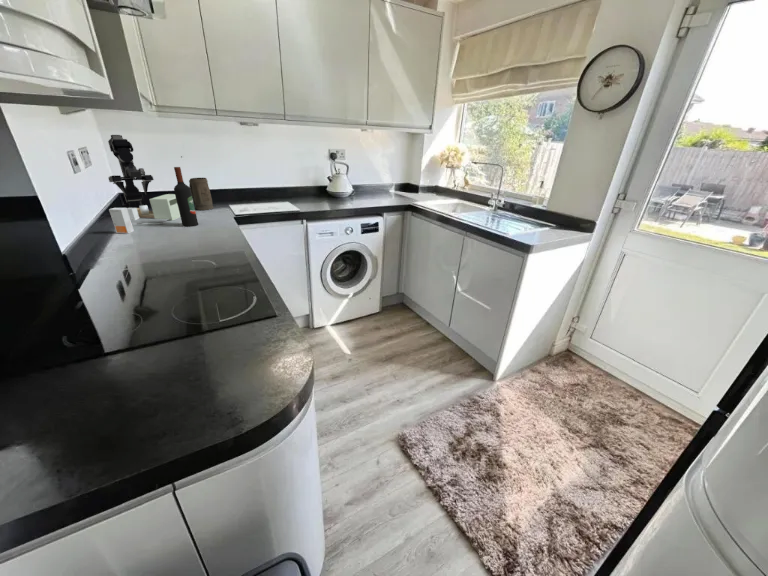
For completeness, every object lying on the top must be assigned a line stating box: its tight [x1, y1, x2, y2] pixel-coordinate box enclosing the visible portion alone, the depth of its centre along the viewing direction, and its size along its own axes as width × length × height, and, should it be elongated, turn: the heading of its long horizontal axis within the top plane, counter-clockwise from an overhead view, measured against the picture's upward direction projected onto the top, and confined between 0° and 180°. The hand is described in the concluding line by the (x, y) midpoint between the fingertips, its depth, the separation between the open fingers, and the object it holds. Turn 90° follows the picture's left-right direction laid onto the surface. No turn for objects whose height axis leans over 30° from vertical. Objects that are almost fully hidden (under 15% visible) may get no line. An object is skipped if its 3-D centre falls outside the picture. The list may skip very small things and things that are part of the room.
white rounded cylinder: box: [139, 204, 150, 215], centre depth 192 cm, size 4×4×5 cm
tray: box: [137, 208, 155, 219], centre depth 191 cm, size 12×18×4 cm, turn 93°
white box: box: [126, 207, 140, 221], centre depth 181 cm, size 4×4×7 cm
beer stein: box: [188, 177, 215, 211], centre depth 212 cm, size 15×11×20 cm
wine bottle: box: [173, 166, 199, 228], centre depth 171 cm, size 8×8×30 cm
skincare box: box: [108, 207, 135, 235], centre depth 159 cm, size 6×4×12 cm
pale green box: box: [149, 193, 181, 222], centre depth 190 cm, size 17×10×12 cm, turn 3°
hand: (136, 195), depth 175 cm, fingers open, 9 cm apart
